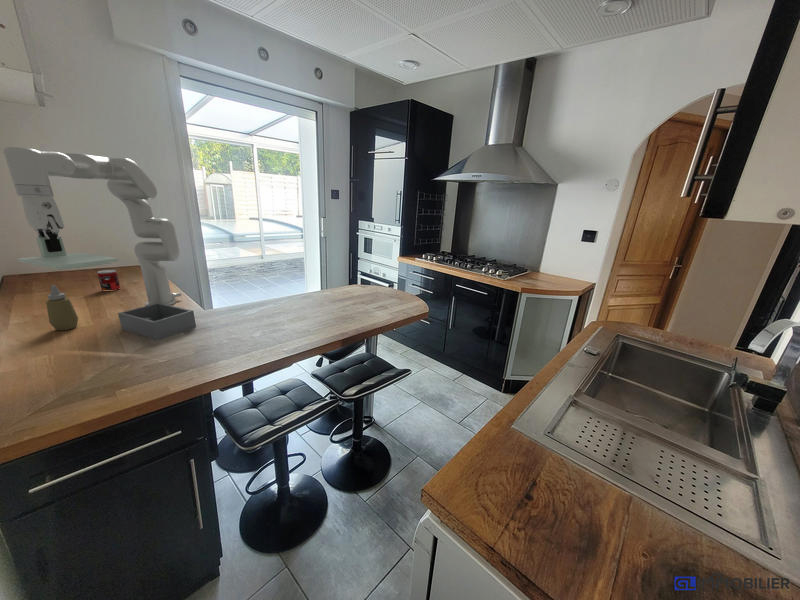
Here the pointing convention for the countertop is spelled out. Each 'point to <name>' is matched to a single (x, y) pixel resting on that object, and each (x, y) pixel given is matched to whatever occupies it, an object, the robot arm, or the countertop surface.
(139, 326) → the tub
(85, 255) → the lid
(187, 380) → the countertop surface
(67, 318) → the squeeze bottle
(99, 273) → the canned food
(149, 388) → the countertop surface
